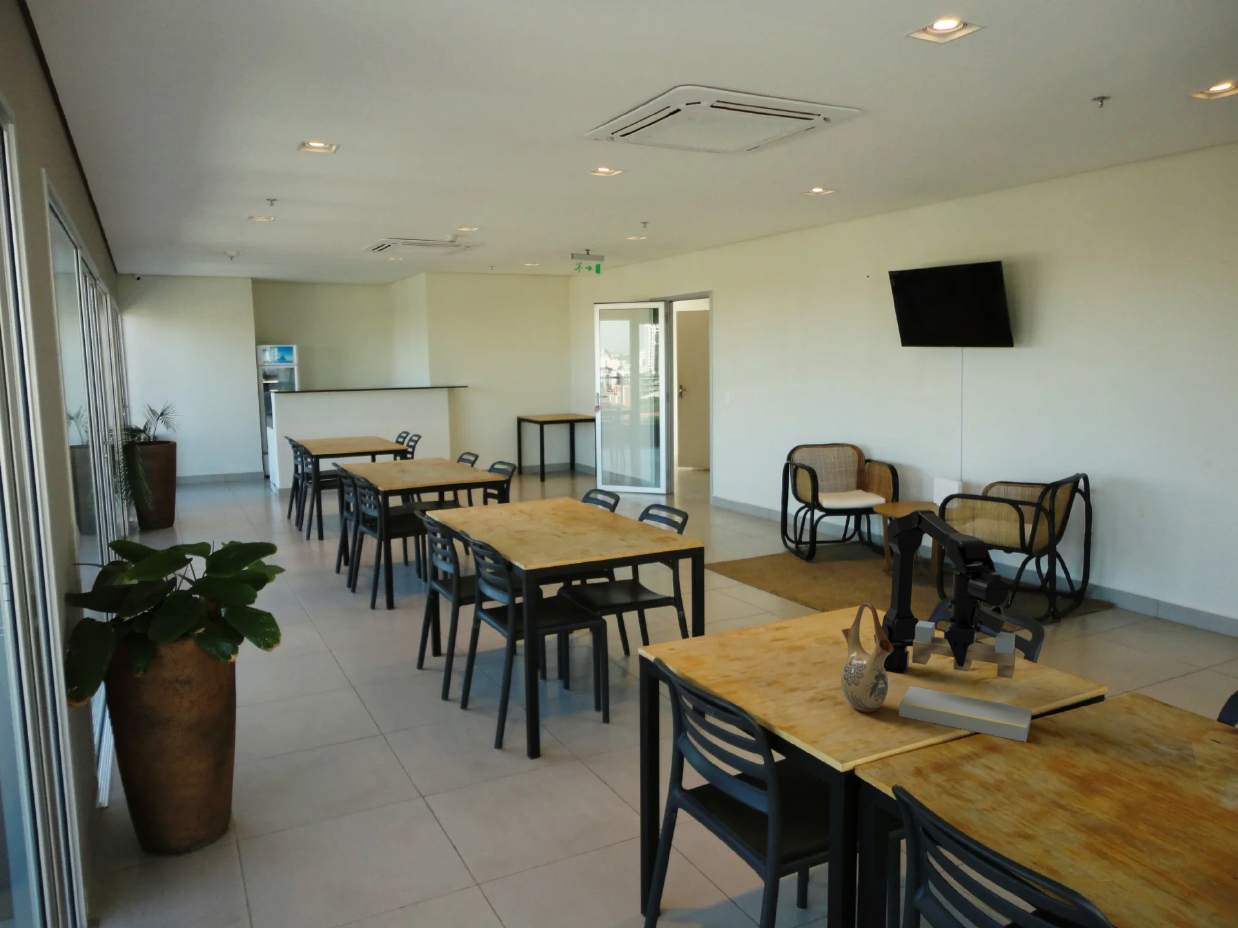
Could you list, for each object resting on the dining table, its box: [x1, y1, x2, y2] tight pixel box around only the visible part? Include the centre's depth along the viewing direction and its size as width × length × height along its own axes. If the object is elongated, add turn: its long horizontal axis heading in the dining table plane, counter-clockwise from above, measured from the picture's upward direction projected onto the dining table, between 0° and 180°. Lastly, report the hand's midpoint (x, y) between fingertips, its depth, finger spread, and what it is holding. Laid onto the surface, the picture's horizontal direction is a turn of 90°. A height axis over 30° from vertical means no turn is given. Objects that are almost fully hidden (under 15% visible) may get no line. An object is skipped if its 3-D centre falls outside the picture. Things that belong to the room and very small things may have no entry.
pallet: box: [911, 636, 1017, 679], centre depth 198 cm, size 21×6×5 cm, turn 61°
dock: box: [898, 686, 1033, 743], centre depth 194 cm, size 26×12×3 cm, turn 61°
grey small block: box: [915, 620, 936, 643], centre depth 201 cm, size 4×5×4 cm
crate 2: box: [994, 631, 1016, 655], centre depth 193 cm, size 4×5×4 cm
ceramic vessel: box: [840, 601, 894, 713], centre depth 198 cm, size 16×9×25 cm, turn 22°
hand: (962, 661), depth 198 cm, fingers closed on pallet, 6 cm apart
